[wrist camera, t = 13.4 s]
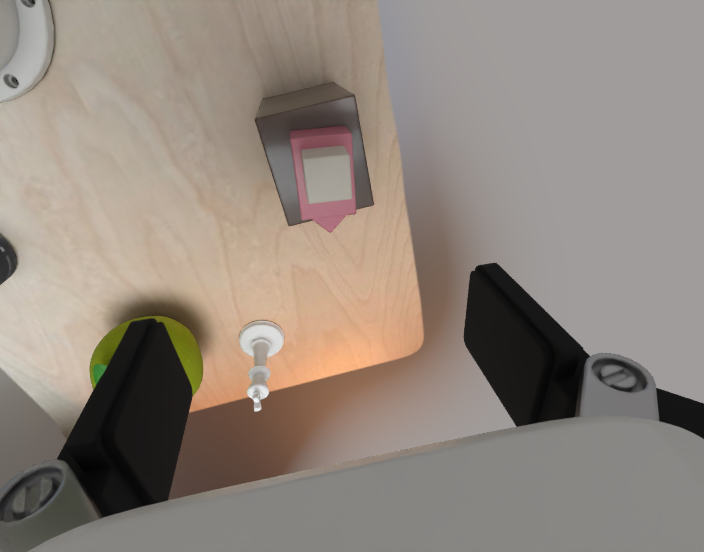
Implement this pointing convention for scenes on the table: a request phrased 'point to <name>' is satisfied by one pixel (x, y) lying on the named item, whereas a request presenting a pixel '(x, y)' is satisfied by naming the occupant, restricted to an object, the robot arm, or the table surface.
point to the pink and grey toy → (324, 174)
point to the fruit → (180, 340)
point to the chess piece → (260, 355)
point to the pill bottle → (6, 260)
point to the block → (307, 113)
